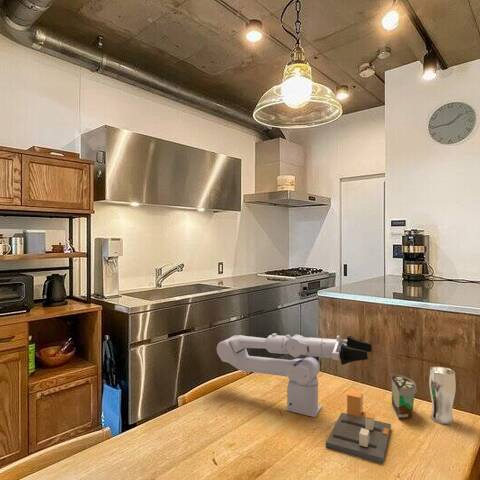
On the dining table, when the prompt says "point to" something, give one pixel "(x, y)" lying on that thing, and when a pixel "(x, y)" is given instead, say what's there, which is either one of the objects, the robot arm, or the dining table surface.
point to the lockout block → (355, 403)
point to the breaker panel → (348, 438)
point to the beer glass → (442, 394)
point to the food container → (403, 396)
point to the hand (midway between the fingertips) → (369, 351)
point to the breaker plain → (364, 437)
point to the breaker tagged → (369, 421)
